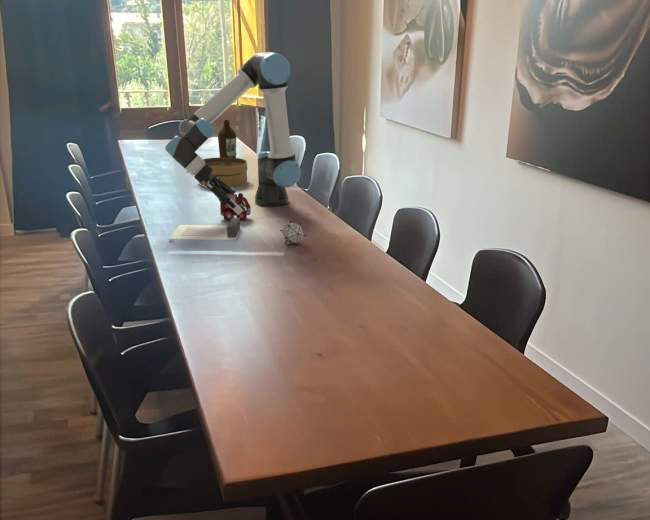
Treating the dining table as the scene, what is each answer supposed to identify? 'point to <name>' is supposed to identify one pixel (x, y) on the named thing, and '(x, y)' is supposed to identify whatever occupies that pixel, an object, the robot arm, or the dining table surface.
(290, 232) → the geodesic ball
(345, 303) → the dining table surface
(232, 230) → the grey rectangular block
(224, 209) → the red toy car
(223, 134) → the olive oil
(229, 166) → the steamer basket
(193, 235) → the mat
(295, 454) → the dining table surface
